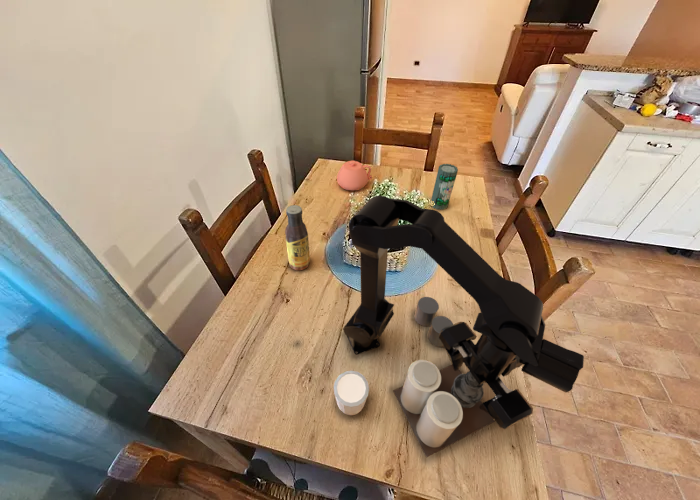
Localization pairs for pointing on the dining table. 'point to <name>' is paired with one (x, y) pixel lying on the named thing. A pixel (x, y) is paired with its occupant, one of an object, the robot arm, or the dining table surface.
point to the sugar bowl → (353, 175)
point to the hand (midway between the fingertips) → (468, 387)
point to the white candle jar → (351, 392)
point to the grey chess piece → (467, 390)
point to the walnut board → (470, 421)
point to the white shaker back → (419, 385)
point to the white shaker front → (439, 419)
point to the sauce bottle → (297, 239)
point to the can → (444, 185)
